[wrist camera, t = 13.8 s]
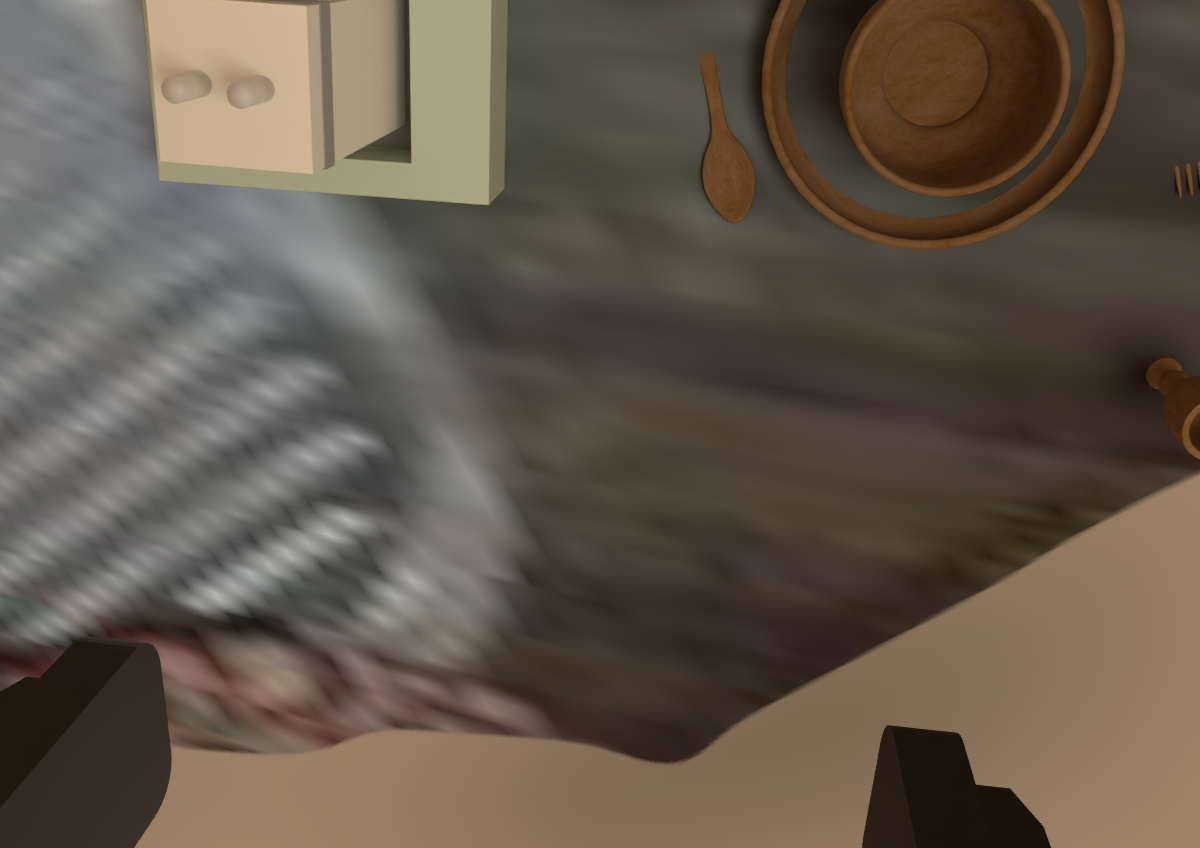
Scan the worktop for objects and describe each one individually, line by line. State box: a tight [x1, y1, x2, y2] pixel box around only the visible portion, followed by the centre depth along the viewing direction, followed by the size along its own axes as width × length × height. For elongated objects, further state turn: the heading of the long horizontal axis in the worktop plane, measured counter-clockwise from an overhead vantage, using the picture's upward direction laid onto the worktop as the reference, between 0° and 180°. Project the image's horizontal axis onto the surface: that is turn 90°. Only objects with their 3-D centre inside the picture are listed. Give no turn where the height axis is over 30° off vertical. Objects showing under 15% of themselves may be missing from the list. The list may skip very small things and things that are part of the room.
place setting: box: [700, 0, 1200, 459], centre depth 39 cm, size 18×20×6 cm
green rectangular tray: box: [142, 0, 508, 205], centre depth 40 cm, size 12×9×3 cm
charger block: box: [146, 0, 406, 174], centre depth 35 cm, size 5×5×12 cm
